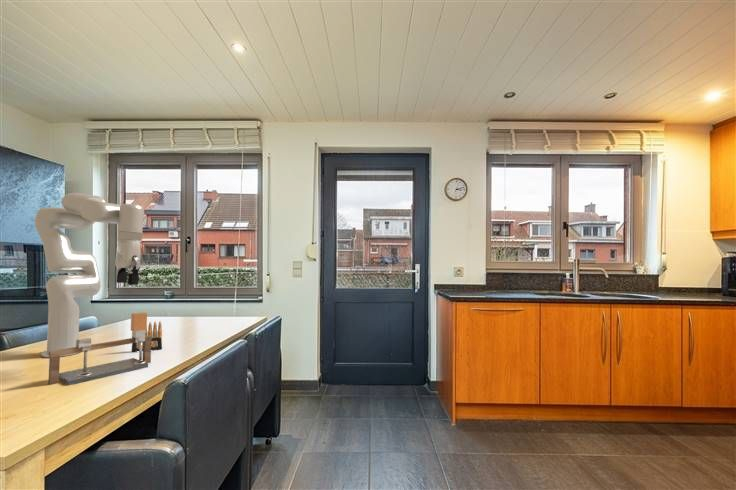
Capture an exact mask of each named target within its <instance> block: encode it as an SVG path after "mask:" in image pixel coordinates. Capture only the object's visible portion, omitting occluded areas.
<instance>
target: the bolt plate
mask: <svg viewBox="0 0 736 490" xmlns="http://www.w3.org/2000/svg"><path fill="white" fill-rule="evenodd" d="M145 362H146V361H143V360H141V361H139V359H137V358H135V357H132V358H127V359H123V360H118V361H113V362H109V363H103V364H98V365H93V366H87V371H86V372H83V367H82V368H77V369H72V370H69V371H62V372H59V381H61V382H63V383H64V384H66V385H67V386H71V385H76V384H80V383H85V382H89V381H93V380H98V379H102V378H106V377H110V376H115V375H119V374H120V375H121V374H123V373H124V374H125V373H129V372H133V371H137V370H142V369H145V368H149V363H145Z"/></svg>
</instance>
